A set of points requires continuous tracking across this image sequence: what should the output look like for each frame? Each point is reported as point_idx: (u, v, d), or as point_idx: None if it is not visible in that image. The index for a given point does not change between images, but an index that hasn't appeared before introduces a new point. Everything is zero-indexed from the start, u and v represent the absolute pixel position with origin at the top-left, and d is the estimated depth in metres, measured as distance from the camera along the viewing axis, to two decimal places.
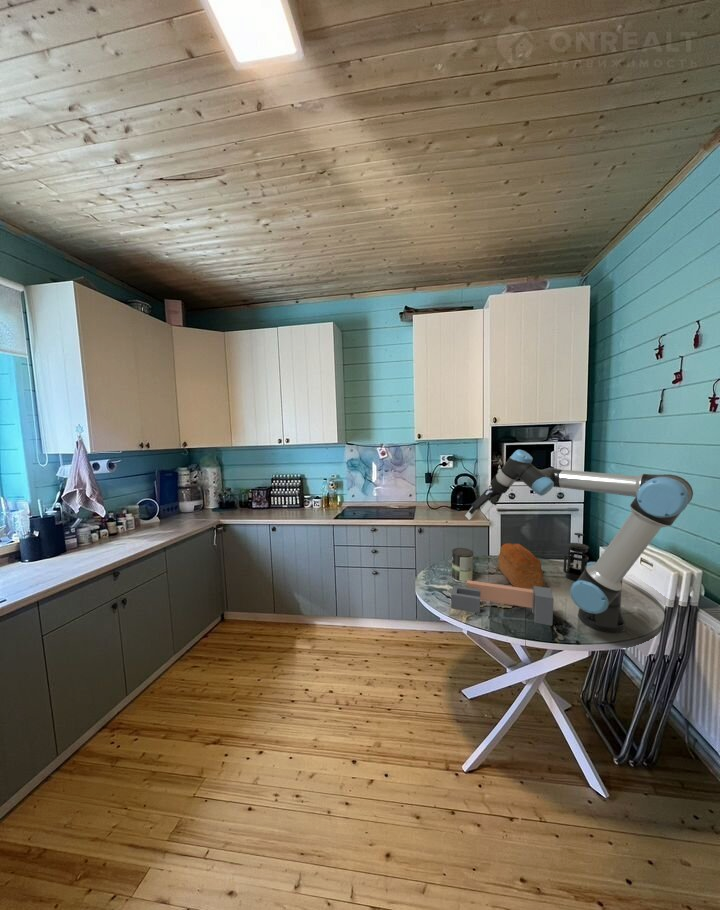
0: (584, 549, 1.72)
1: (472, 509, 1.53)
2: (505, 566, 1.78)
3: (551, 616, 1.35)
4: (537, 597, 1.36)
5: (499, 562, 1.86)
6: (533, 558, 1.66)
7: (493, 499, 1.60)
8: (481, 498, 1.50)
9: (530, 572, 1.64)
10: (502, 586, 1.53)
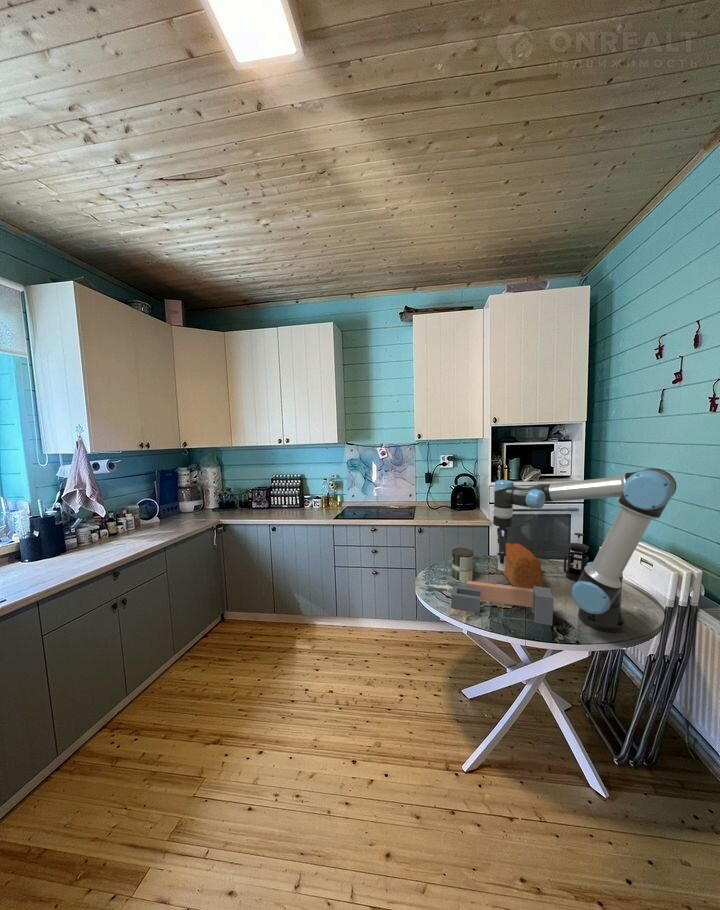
0: (584, 549, 1.72)
1: (501, 558, 1.45)
2: None
3: (551, 616, 1.35)
4: (537, 597, 1.36)
5: None
6: (533, 558, 1.66)
7: None
8: (502, 542, 1.44)
9: (529, 572, 1.65)
10: (502, 586, 1.53)
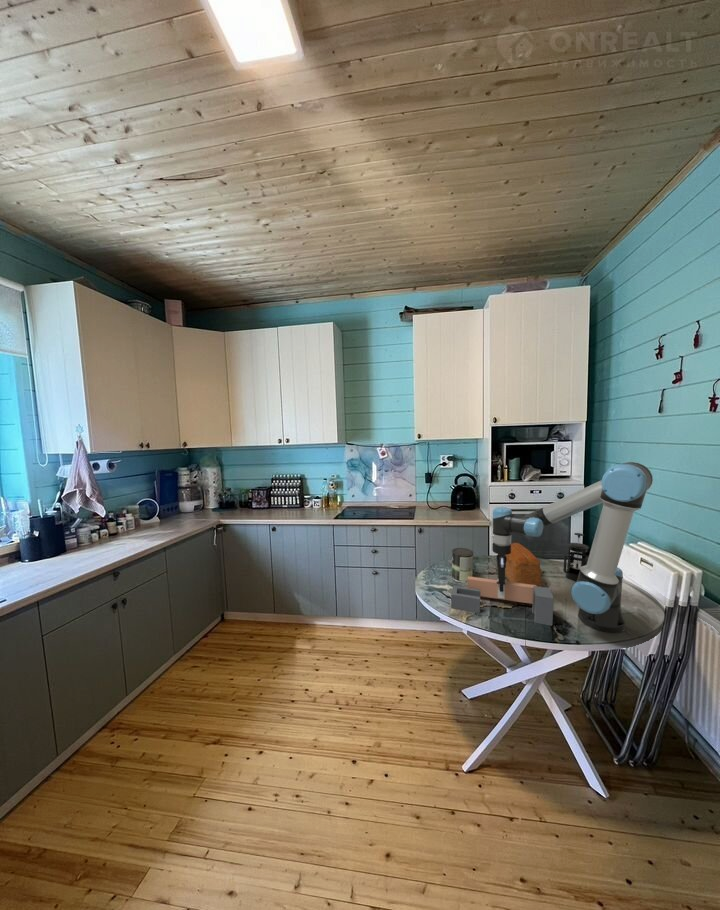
0: (584, 549, 1.72)
1: (501, 586, 1.50)
2: None
3: (551, 616, 1.35)
4: (537, 597, 1.36)
5: None
6: (532, 557, 1.67)
7: None
8: (502, 573, 1.48)
9: (528, 571, 1.66)
10: None
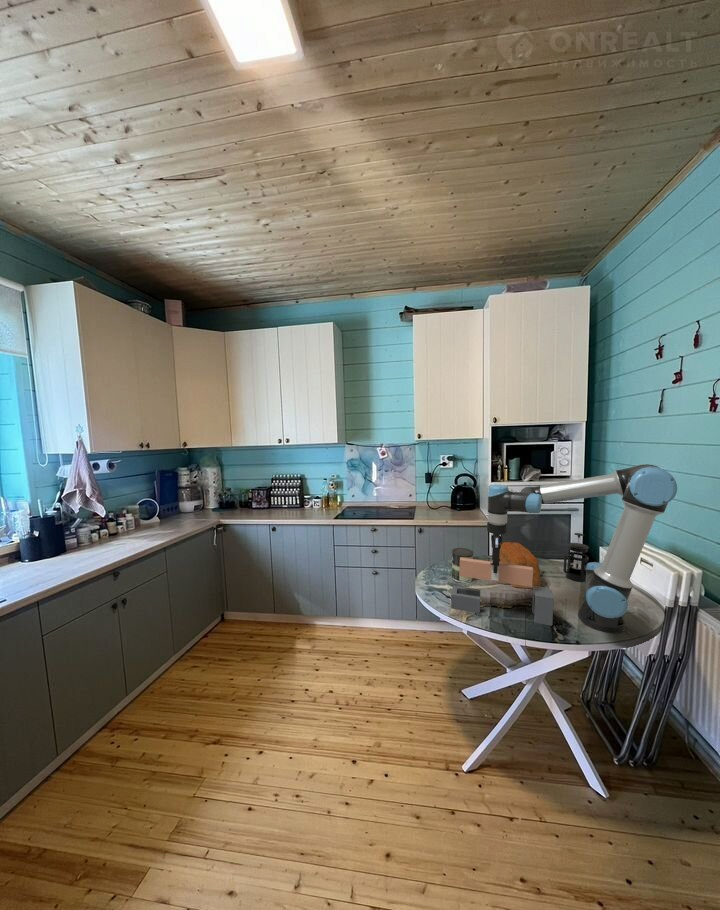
0: (584, 549, 1.72)
1: (495, 568, 1.42)
2: None
3: (551, 616, 1.35)
4: (537, 597, 1.36)
5: None
6: (530, 556, 1.68)
7: None
8: (496, 553, 1.39)
9: None
10: None
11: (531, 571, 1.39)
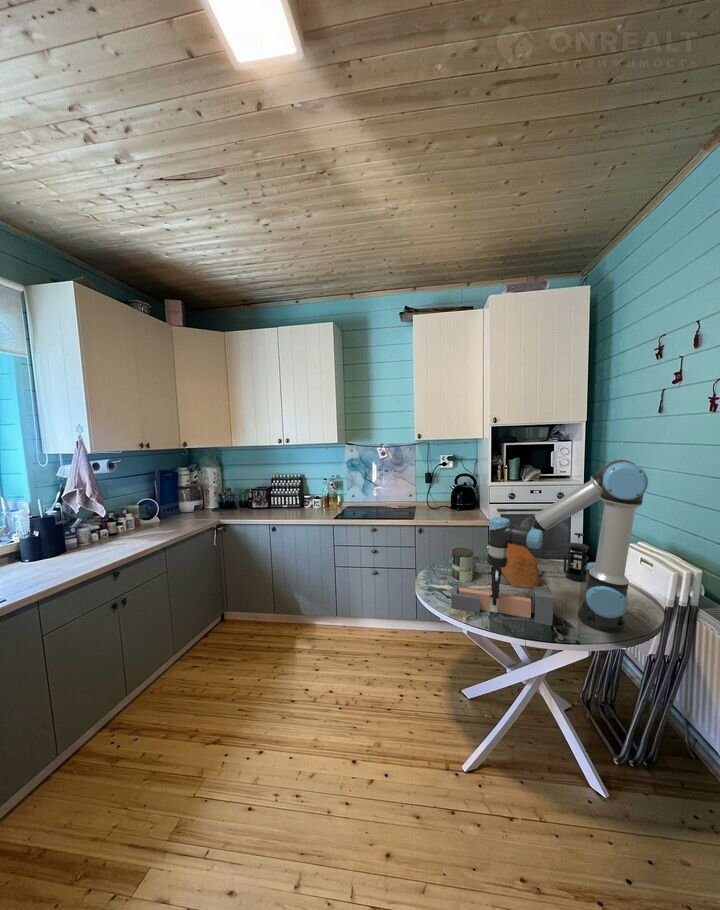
0: (584, 549, 1.72)
1: (494, 600, 1.43)
2: None
3: (551, 616, 1.35)
4: (537, 597, 1.36)
5: None
6: (529, 556, 1.69)
7: None
8: (496, 586, 1.40)
9: (525, 570, 1.67)
10: None
11: (529, 603, 1.40)
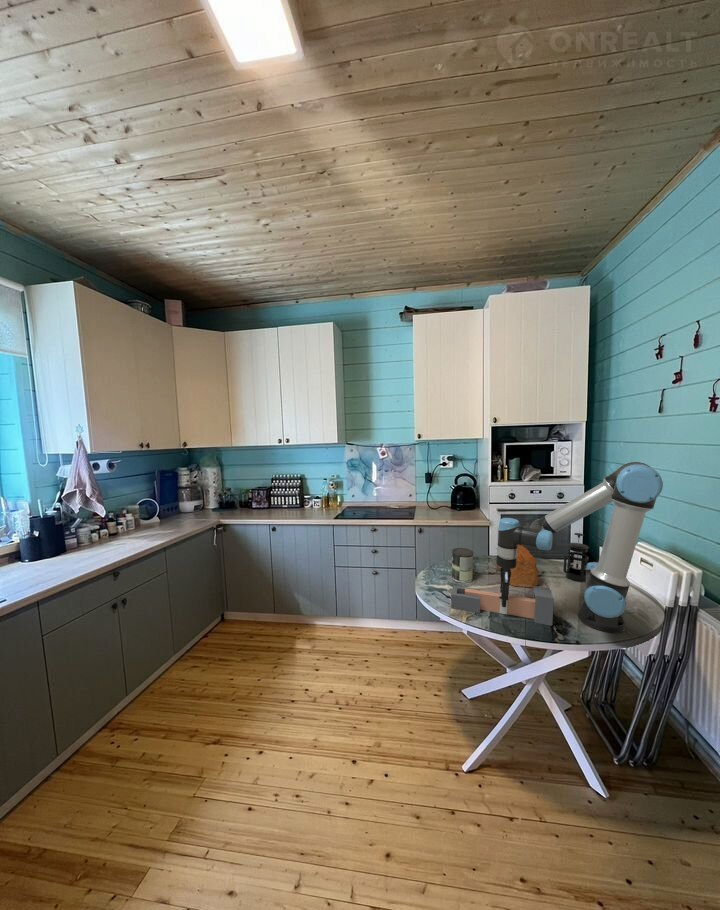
0: (584, 549, 1.72)
1: (504, 602, 1.42)
2: None
3: (551, 616, 1.35)
4: (537, 597, 1.36)
5: None
6: (528, 556, 1.69)
7: None
8: (505, 588, 1.39)
9: (524, 569, 1.68)
10: None
11: None
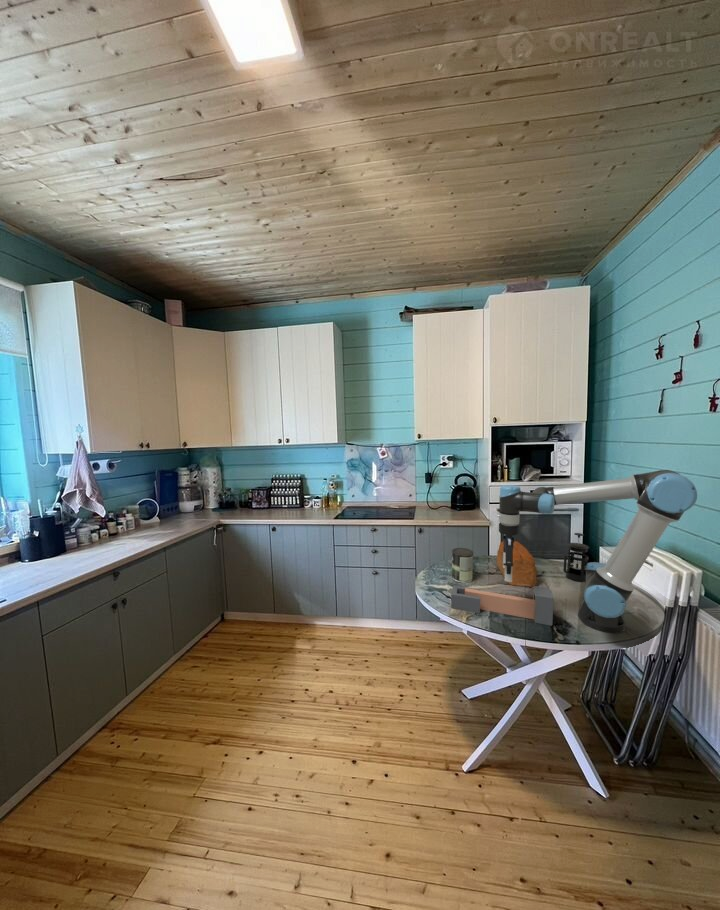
0: (584, 549, 1.72)
1: (508, 568, 1.36)
2: (501, 562, 1.83)
3: (551, 616, 1.35)
4: (537, 597, 1.36)
5: (497, 559, 1.91)
6: (527, 555, 1.70)
7: None
8: (509, 551, 1.35)
9: (522, 569, 1.68)
10: (502, 596, 1.45)
11: None
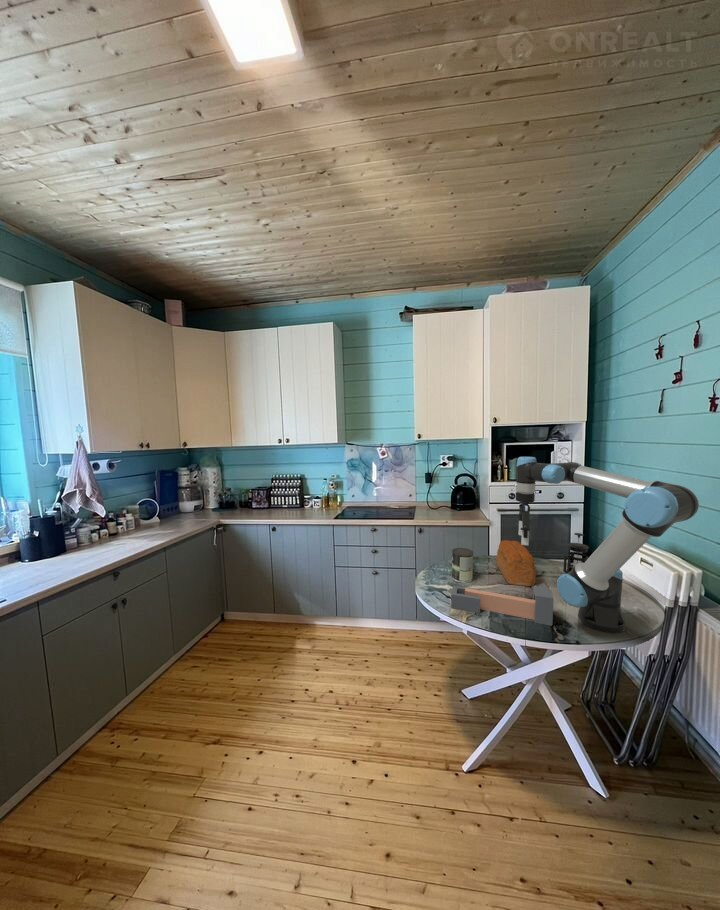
0: (584, 549, 1.72)
1: (525, 532, 1.46)
2: (500, 562, 1.84)
3: (551, 616, 1.35)
4: (537, 597, 1.36)
5: (497, 558, 1.91)
6: (526, 554, 1.71)
7: None
8: (526, 517, 1.46)
9: (522, 568, 1.69)
10: (502, 596, 1.45)
11: None
